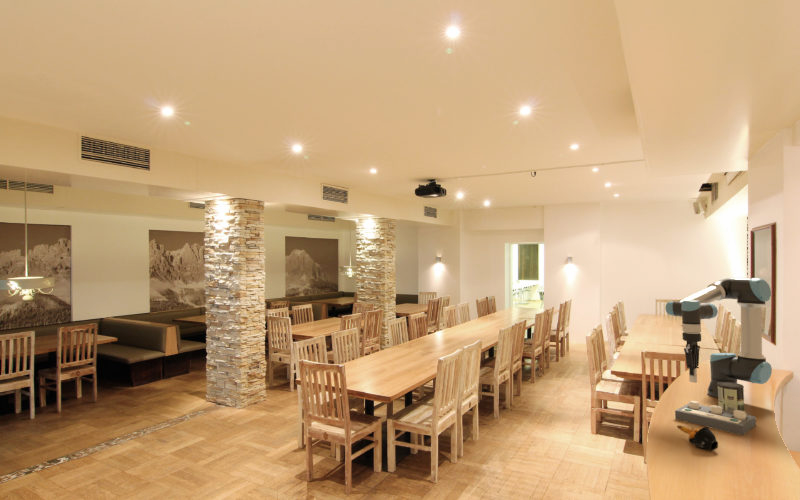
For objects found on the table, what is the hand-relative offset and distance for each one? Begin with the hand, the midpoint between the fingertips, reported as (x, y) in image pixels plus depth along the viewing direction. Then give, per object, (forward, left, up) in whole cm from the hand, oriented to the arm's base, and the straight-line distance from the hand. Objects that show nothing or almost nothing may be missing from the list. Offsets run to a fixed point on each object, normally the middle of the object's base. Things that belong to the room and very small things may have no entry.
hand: (693, 381), depth 213 cm
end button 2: (0, +18, -15) cm, 23 cm away
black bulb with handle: (+35, +13, -17) cm, 41 cm away
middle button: (0, +9, -15) cm, 17 cm away
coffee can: (-17, +10, -16) cm, 25 cm away
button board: (+2, +9, -16) cm, 19 cm away
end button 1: (0, 0, -15) cm, 15 cm away
